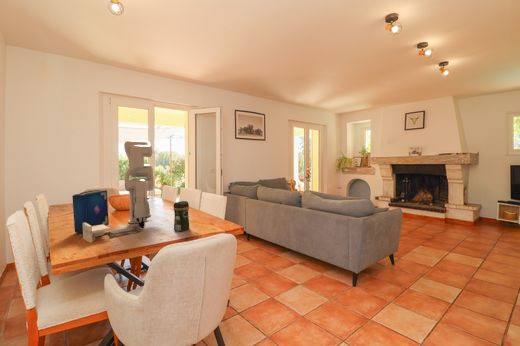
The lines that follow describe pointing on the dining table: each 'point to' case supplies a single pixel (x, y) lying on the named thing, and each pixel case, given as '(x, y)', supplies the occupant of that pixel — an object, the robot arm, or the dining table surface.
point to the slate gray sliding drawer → (124, 230)
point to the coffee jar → (181, 216)
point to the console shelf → (93, 231)
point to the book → (90, 209)
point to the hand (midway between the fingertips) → (141, 227)
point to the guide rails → (122, 233)
